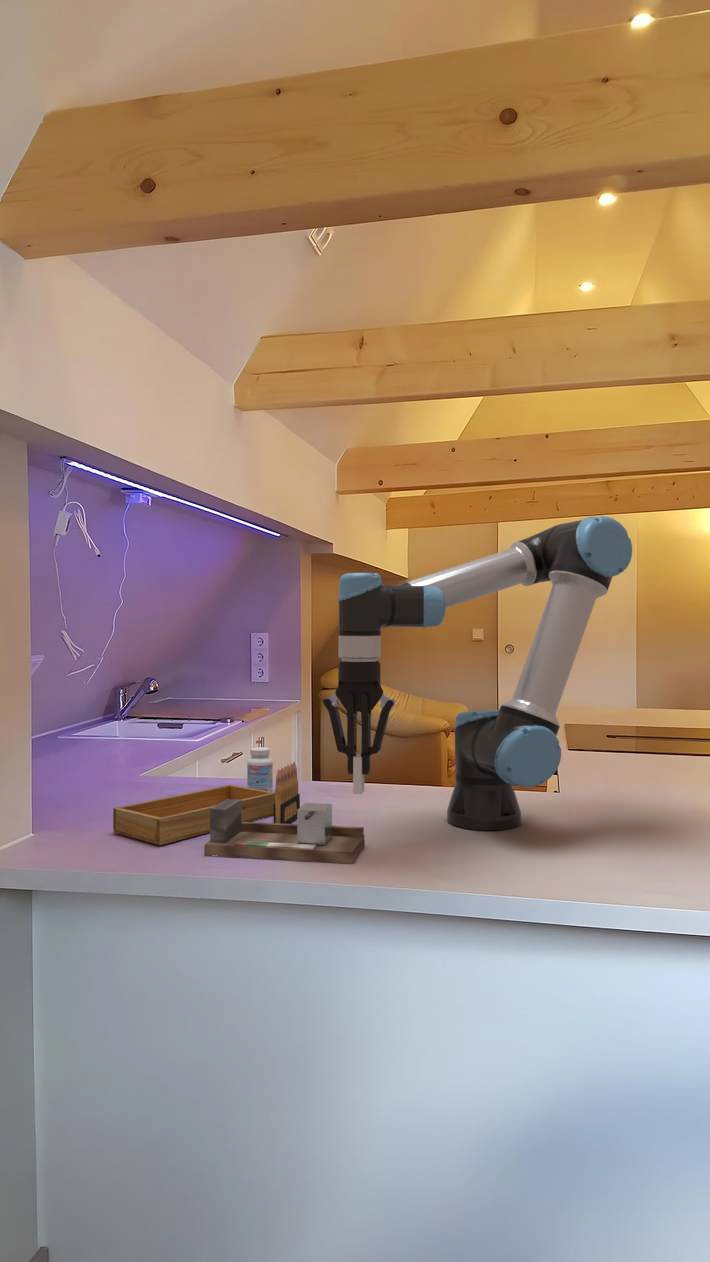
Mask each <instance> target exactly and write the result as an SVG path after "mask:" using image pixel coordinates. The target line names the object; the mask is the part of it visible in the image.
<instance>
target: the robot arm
mask: <svg viewBox="0 0 710 1262" xmlns="http://www.w3.org/2000/svg"><path fill="white" fill-rule="evenodd" d="M632 556H633V544H632V540H631V538H630V537H629V533H628V530H626V528H625V526H624V525H622V523H621V522H619V521H618V520H616V519H615V518H613V517H610V516H607V515H606V516H603V515H602V516H601V515H600V516H588V517H585V518H583V519H579V520H575V521H570V522H565V523H560V524H556V525H553V526H551V527H549V528H547V529H544V530H542V531H540V532H538V533H536V534H534V535H531V536H529V537H526V538H524V539H521V540H517V541H515V542H513V543H512V544H511V545H510V547H509V549H508V548H507V549H505V550H502V551H499V552H496V553H494V554H490V555H487V556H483V557H480V558H477V559H474V560H472V561H467V562H465V563H462V564H458V565H455V566H452V567H449V568H445V569H442V570H440V571H439V570H438V571H436V572H434V573H431V574H427V575H423V576H421V577H417V578H414V579H412V580H408V581H406V582H403V583H399V584H396V585H389V584H388V585H386V584H383V582H382V577H381V575H380V574H379V573H375V572H374V573H373V572H372V573H371V572H348V573H344V574H342V575H341V577H340V579H339V587H338V598H337V601H338V648H337V650H338V652H337V653H338V654H337V655H338V658H339V659H341V660H340V661H339V662H338V667H337V669H338V671H337V672H338V673H337V675H338V677H337V678H338V679H337V680H338V681H337V683H338V684H337V687H336V688H335V691H334V692H335V693H334V694H332V695H331V696H329V697H327V698H325V699H323V702H322V703H323V705H324V707H325V708H326V710H327V712H328V714H329V715H328V716H329V719H330V723H331V729H332V731H333V732H332V733H333V736H334V740H335V741H334V742H335V745H336V749H337V752H339V753H343V754H345V755H346V756H347V773H348V774H349V775H352V776H353V777H352V795H362V794H363V793H364V792H365V775H369V774H370V772H371V756H372V755H374V754H378V753H379V752H380V751H381V748H382V744H383V740H384V737H385V732H386V728H387V724H388V721H389V716H390V713H391V711H392V709H393V708H394V706H395V704H396V700H395V699H393V698H392V699H391V698H389V697H388V696H387V695H385V694H384V690H383V688H382V685H381V663H380V661H378V659H380V658H381V654H382V653H381V651H382V649H381V647H382V645H381V643H382V642H381V641H382V640H381V636H382V631H381V630H382V629H381V628H383V629H384V628H395V627H396V628H399V627H400V628H423V629H425V628H432V627H433V628H435V627H438V626H440V625H441V624H442V623H443V621H444V618H445V616H446V611H447V609H448V608H451V607H454V606H456V605H460V604H463V603H466V602H469V601H471V600H475V599H478V598H480V597H484V596H488V595H489V594H490V595H491V594H492V593H497V592H499V591H502V590H506V589H508V588H512V587H514V586H517V585H522V586H524V587H530V586H532V585H535V584H536V585H537V584H539V583H544V582H550V583H551V584H552V587H551V590H550V591H549V592H550V593H549V595H548V598H547V601H546V603H545V606H544V609H543V611H542V615H541V617H540V621H539V624H538V626H537V629H536V631H535V634H534V637H533V639H532V643H531V646H530V647H529V648H530V649H529V650H528V654H527V657H526V659H525V661H524V664H523V668H522V670H521V673H520V675H519V679H518V681H517V684H516V687H515V689H514V692H513V695H512V698H511V699H510V700H507V701H505V702H504V703H501V705H500V707H499V709H494V710H475V711H460V712H458V713H457V714H456V716H455V719H454V729H453V732H454V761H455V762H454V763H455V764H454V765H455V769H454V771H455V776H454V777H455V778H454V779H455V780H454V782H455V783H454V787H453V791H452V794H451V797H450V800H449V802H448V806H447V811H446V814H447V815H446V817H447V819H446V820H447V822H448V823H449V824H451V825H453V826H456V827H459V828H463V829H469V830H476V831H477V830H478V831H500V830H501V831H502V830H509V829H513V828H516V827H519V826H520V825H522V810H521V808H520V805H519V802H518V798H517V795H516V792H515V789H514V786H517V787H518V786H519V787H523V788H533V787H537V786H539V785H541V784H544V783H545V782H547V781H549V779H551V778H552V777H553V775H555V773H556V771H557V770H558V768H559V765H560V762H561V760H562V747H560V741H559V739H558V737H557V736H558V734H559V730H560V726H561V724H560V722H559V721H558V718H557V715H556V713H557V710H558V708H559V705H560V702H561V699H562V696H563V694H564V691H565V687H566V685H567V683H568V680H569V677H570V674H571V671H572V668H573V665H574V663H575V659H576V657H577V653H578V652H579V648H580V646H581V644H582V643H581V642H582V639H583V637H584V635H585V631H586V629H587V626H588V623H589V620H590V618H591V614H592V612H593V609H594V606H595V604H596V600H597V599H599V598H601V597H604V596H606V595H607V594H608V590H609V587H610V585H611V582H612V580H613V578H614V577H616V576H619V575H620V574H621V573H623V572H624V571H626V569H627V568H628V567H629V565H630V563H631V561H632ZM339 702H340V703H341V705H342V706H343V708H344V709H345V710H346V718H347V720H346V723H347V724H346V725H347V727H346V728H347V729H346V731H347V732H346V735H347V736H346V737H345V734H344V729H343V724H342V719H341V715H340V712H339V708H338V706H339ZM379 702H380V705H379V706H380V708H381V711H380V714H379V717H378V722H377V726H376V729H375V730H376V731H375V733H374V734H375V735H374V737H373V743H371V742H372V739H371V737H372V736H371V735H372V734H371V733H372V732H371V731H372V728H371V726H372V725H371V724H372V721H371V720H372V711H373V710H374V708H375V707H376V705H377V704H378V703H379ZM358 713H360V718H361V753H360V754H357V753H358V749H357V742H358V741H357V739H358V738H357V735H358V734H357V731H358V729H357V726H358V723H357V721H358V720H357V719H358ZM346 739H347V740H346ZM371 744H372V745H371Z"/></svg>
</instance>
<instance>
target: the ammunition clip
mask: <svg viewBox="0 0 710 1262" xmlns="http://www.w3.org/2000/svg"><path fill="white" fill-rule="evenodd" d="M274 792H275V803H274V816H273V823H280V824H294V822H296V821H297V810H298V809H299V808H300V807H301V805H300V804H301V799H300V797H301V795H300V793H299V779H298V768H297V764H296V762H295V761H293V762H292V763H291V762H290V764H287V765H284V766H283V767H281V768H280V769H279V768H278V769H277V772H276V777H275V788H274Z"/></svg>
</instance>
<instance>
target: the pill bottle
mask: <svg viewBox="0 0 710 1262" xmlns="http://www.w3.org/2000/svg"><path fill="white" fill-rule="evenodd" d="M270 749H271V748H269V747H262V746H258V747H252V748H250V749H249V750H250V751H249V752H250V753H249V754H250V756H251V757H250V758H248V760H247V773H246V774H247V777H246V778H247V788H252V789H258V790H264V791H269V792H274V791H273V787H274V786H273V772H274V771H273V766H274V765H273V763H274V762H273V759H272V758H271V757H269V756H270V754H271V753H270V751H271V750H270Z"/></svg>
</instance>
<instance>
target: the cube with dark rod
mask: <svg viewBox="0 0 710 1262" xmlns="http://www.w3.org/2000/svg"><path fill="white" fill-rule="evenodd" d="M296 821H297V822H296V824H297V837H298V844H314V845H325V844H326V843H327V842H328V841H329V840H330V838H331V837H332V826H333V804H332V803H325V802H324V803H322V802H317V803H315V802H305V803H303V804H301V805H300V808H299V809H298V810H297V820H296Z"/></svg>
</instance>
